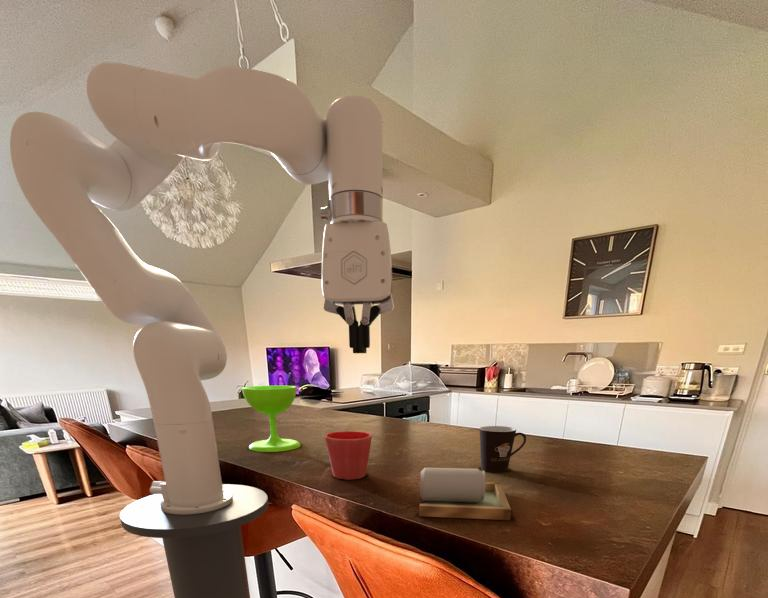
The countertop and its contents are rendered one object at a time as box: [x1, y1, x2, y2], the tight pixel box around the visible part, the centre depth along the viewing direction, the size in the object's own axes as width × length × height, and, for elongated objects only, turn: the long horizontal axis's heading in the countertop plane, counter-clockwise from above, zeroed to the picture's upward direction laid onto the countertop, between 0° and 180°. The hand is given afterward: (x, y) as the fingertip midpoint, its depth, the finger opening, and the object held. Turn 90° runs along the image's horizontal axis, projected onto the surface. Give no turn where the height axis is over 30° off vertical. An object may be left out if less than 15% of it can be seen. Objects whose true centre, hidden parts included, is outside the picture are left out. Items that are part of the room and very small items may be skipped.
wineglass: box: [241, 385, 302, 453], centre depth 130 cm, size 16×16×18 cm
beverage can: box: [419, 467, 486, 503], centre depth 80 cm, size 6×6×12 cm
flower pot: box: [324, 430, 372, 481], centre depth 98 cm, size 11×11×10 cm
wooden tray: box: [418, 481, 512, 521], centre depth 80 cm, size 16×16×2 cm
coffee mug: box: [479, 425, 527, 473], centre depth 103 cm, size 12×9×10 cm
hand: (359, 352), depth 66 cm, fingers closed
